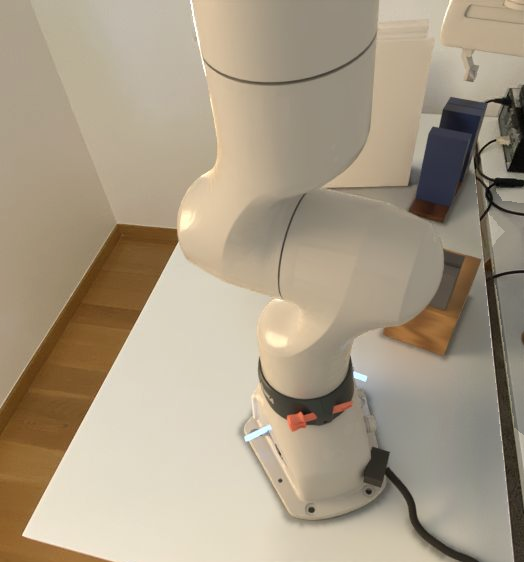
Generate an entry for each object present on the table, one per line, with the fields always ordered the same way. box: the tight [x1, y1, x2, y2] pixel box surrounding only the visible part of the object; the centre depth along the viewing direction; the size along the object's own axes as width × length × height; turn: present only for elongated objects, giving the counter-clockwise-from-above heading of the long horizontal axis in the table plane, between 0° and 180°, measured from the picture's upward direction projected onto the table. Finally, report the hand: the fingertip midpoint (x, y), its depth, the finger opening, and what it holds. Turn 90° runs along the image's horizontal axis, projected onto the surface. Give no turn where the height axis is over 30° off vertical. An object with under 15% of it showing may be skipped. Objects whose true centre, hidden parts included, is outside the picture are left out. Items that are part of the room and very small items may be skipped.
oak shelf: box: [383, 247, 483, 357], centre depth 80 cm, size 10×14×9 cm
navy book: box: [414, 126, 472, 207], centre depth 94 cm, size 7×2×14 cm, turn 62°
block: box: [322, 18, 436, 189], centre depth 97 cm, size 35×8×28 cm, turn 86°
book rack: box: [407, 96, 489, 224], centre depth 96 cm, size 7×18×15 cm, turn 151°
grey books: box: [427, 250, 465, 311], centre depth 71 cm, size 6×4×8 cm, turn 62°
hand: (502, 85), depth 73 cm, fingers open, 8 cm apart
